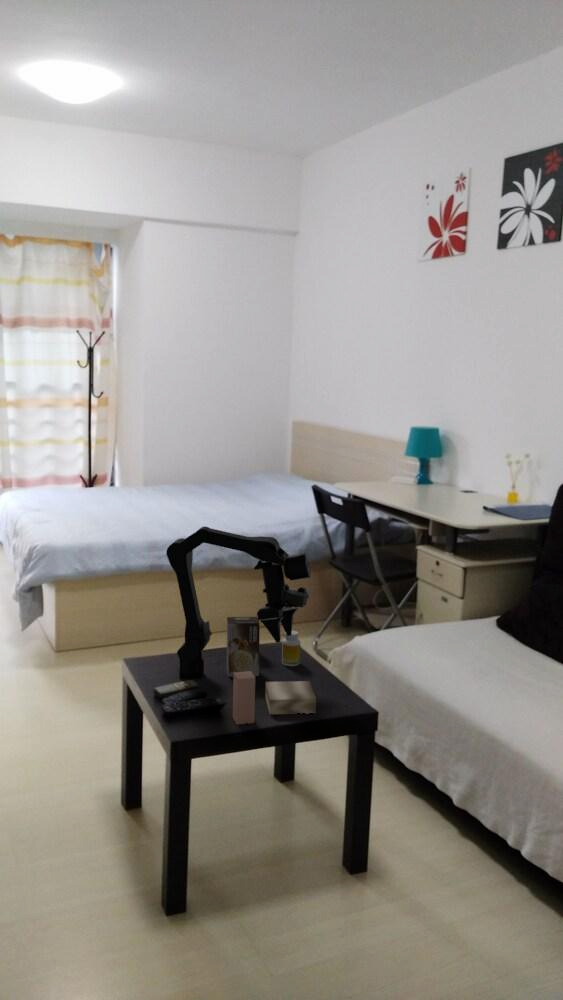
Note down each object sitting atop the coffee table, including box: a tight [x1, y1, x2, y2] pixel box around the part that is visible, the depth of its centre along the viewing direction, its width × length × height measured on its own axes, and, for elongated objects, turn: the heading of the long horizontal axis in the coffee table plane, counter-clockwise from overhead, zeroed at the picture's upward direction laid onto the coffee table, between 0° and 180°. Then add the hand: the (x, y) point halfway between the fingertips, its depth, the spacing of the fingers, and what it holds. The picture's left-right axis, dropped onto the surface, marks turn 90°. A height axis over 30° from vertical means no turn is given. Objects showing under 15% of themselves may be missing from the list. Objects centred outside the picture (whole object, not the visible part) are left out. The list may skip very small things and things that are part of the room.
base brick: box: [264, 680, 317, 715], centre depth 229 cm, size 12×12×4 cm
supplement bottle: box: [281, 630, 301, 667], centre depth 258 cm, size 5×5×10 cm
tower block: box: [232, 671, 256, 725], centre depth 218 cm, size 4×4×12 cm
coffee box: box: [226, 616, 261, 678], centre depth 249 cm, size 9×6×16 cm
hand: (284, 638), depth 239 cm, fingers open, 9 cm apart
